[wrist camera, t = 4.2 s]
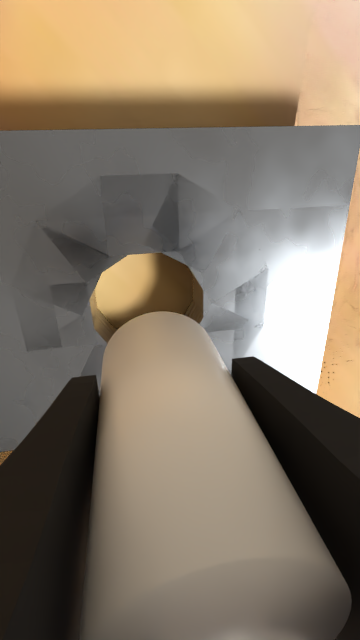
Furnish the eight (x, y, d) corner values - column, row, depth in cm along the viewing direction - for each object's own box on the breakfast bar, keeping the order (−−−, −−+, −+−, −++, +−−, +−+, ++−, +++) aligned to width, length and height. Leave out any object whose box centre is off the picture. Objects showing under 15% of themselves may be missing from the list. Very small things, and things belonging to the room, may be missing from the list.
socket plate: (293, 382, 21) (313, 407, 19) (-6, 422, 18) (-22, 455, 16) (328, 131, 15) (363, 124, 13) (-103, 139, 13) (-148, 133, 10)
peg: (217, 397, 11) (337, 669, 5) (114, 417, 11) (109, 738, 5) (210, 302, 10) (370, 525, 4) (91, 322, 10) (38, 610, 3)
